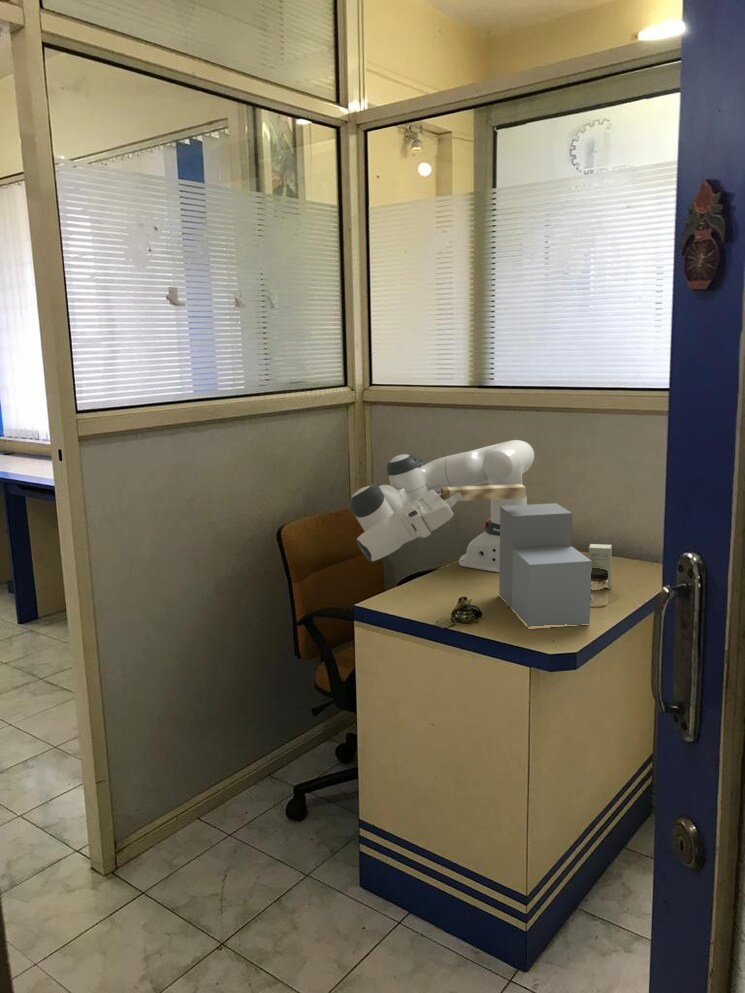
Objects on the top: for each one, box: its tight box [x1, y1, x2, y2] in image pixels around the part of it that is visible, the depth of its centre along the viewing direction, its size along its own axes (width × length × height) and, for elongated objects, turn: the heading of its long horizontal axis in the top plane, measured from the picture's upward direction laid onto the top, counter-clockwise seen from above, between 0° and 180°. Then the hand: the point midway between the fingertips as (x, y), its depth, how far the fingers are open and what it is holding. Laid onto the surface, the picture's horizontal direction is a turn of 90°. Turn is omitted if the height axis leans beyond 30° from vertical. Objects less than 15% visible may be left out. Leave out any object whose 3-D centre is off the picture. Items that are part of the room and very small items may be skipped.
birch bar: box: [440, 484, 527, 502], centre depth 218 cm, size 22×4×3 cm, turn 97°
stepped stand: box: [498, 502, 592, 627], centre depth 217 cm, size 16×26×26 cm, turn 8°
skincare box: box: [588, 543, 613, 590], centre depth 237 cm, size 6×4×12 cm
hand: (458, 492), depth 217 cm, fingers closed on birch bar, 4 cm apart
